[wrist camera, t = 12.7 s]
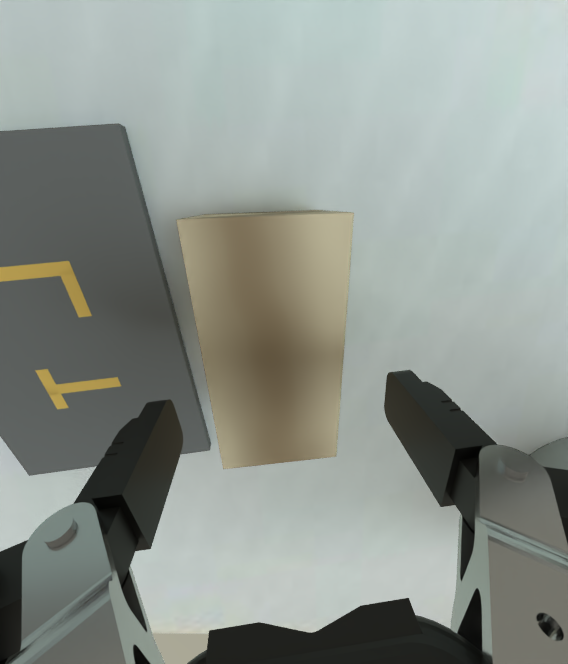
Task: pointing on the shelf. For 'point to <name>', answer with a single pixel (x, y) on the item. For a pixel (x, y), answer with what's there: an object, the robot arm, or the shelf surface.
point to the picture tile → (82, 301)
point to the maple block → (271, 328)
